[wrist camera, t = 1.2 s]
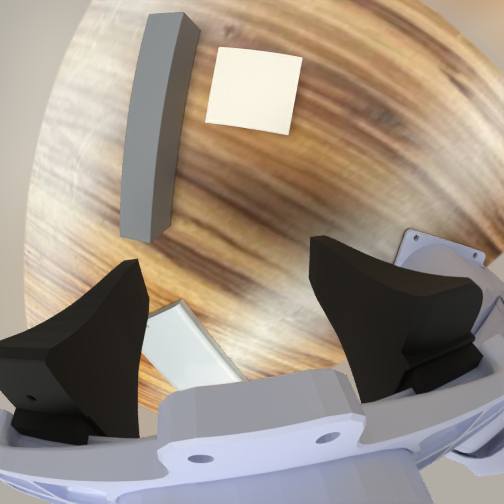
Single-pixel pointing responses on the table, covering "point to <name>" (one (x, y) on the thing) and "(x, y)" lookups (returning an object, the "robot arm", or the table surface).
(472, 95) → the table surface
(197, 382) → the hard drive
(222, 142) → the table surface
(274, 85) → the cream block
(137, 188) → the gray bar
